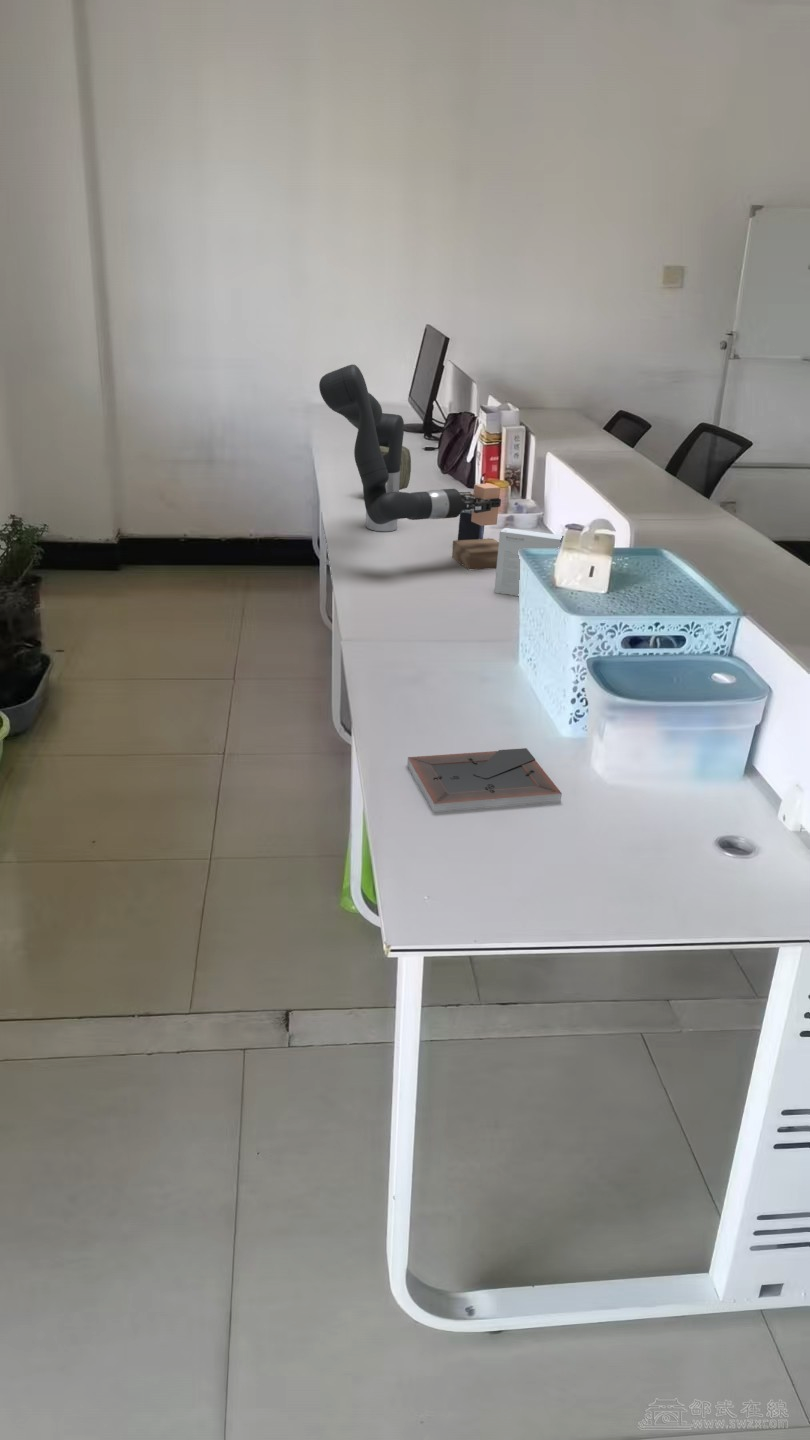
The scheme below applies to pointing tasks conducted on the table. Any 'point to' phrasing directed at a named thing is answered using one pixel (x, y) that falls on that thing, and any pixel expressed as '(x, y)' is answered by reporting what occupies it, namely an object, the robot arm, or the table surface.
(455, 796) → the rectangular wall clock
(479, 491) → the terracotta pillar
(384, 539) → the table surface
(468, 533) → the small box
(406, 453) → the tabletop clock
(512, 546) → the skincare box
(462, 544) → the walnut block
